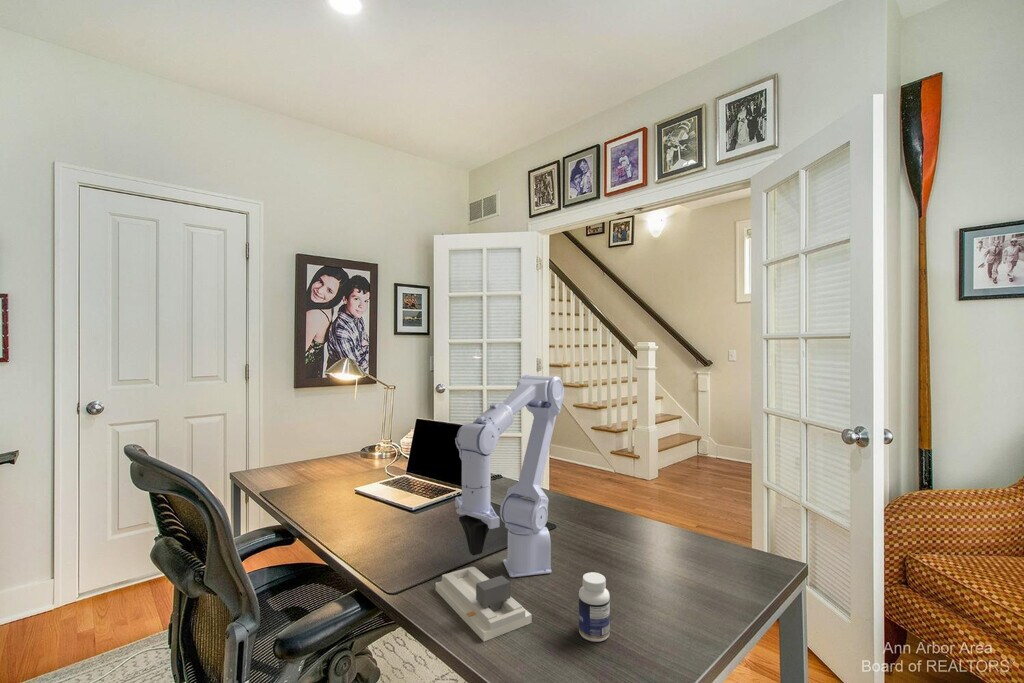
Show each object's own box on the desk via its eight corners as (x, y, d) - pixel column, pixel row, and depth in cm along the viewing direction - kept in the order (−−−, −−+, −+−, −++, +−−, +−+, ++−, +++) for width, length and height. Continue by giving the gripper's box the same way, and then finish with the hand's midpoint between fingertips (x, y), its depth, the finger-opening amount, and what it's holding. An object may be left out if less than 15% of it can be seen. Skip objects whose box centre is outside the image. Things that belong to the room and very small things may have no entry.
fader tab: (476, 608, 86) (476, 583, 87) (501, 599, 90) (501, 575, 90) (484, 616, 84) (484, 590, 84) (510, 606, 87) (510, 582, 87)
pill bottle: (575, 624, 85) (575, 570, 85) (604, 623, 85) (604, 569, 85) (582, 643, 79) (582, 585, 79) (613, 642, 80) (613, 584, 80)
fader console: (435, 590, 96) (435, 575, 96) (478, 577, 102) (478, 563, 102) (483, 641, 80) (483, 623, 80) (531, 622, 85) (531, 606, 85)
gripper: (442, 478, 97) (441, 544, 96) (476, 497, 84) (475, 573, 84) (472, 473, 100) (472, 537, 100) (509, 491, 88) (508, 563, 88)
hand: (475, 553), depth 93 cm, fingers closed
